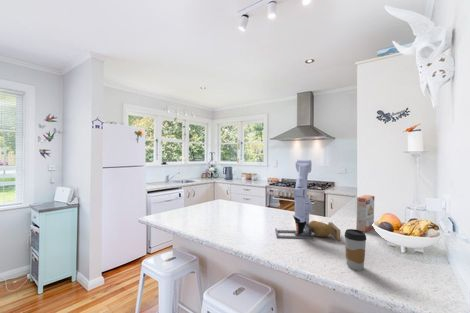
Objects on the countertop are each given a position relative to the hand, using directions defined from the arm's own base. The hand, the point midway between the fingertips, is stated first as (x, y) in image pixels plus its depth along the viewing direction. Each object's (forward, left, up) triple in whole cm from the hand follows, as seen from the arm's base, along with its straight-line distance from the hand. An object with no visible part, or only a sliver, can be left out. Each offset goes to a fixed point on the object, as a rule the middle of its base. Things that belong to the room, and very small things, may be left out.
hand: (299, 230), depth 133 cm
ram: (0, +2, -2) cm, 3 cm away
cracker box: (-15, +44, -3) cm, 47 cm away
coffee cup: (+36, +16, -3) cm, 40 cm away
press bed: (0, +3, -3) cm, 4 cm away
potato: (0, +12, -3) cm, 13 cm away
